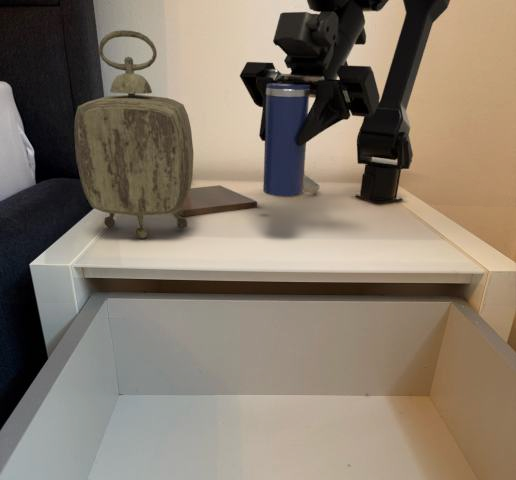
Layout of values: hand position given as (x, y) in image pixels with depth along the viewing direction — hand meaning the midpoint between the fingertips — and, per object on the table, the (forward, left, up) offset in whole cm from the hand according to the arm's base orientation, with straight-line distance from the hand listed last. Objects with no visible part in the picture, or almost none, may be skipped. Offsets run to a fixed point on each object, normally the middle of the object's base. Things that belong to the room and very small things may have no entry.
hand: (279, 141), depth 64 cm
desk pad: (-1, -25, -13) cm, 28 cm away
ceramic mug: (-20, -25, -14) cm, 34 cm away
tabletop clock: (+15, -12, -14) cm, 23 cm away
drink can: (-1, -1, -7) cm, 7 cm away
